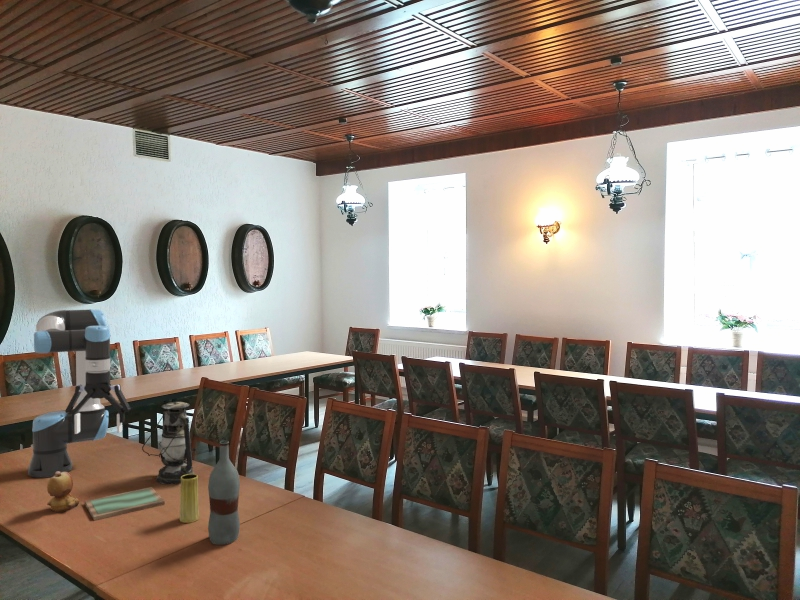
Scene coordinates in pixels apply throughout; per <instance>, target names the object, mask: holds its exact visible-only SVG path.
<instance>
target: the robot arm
mask: <svg viewBox="0 0 800 600" xmlns="http://www.w3.org/2000/svg"><path fill="white" fill-rule="evenodd" d="M106 321H107V320H106V316H105V313H104V311H102V310H101V309H68V310H66V309H60V310H56V311H52V312H49V313H47V314H44V315H43V316H41V318H39V319H38V320H37V322H36V326H35V330H36V331H35V332H34V333H33V350H34V353H37V354H50V353H67V352H70V353H71V352H75V371H76V372H75V373H76V376H75V377H76V378H75V379H76V380H75V381H76V385H75V388H74V389H75V390H74V393H73V395H72V397H71V399H70V401H69V403H68V405H67V406H66V409H65V410H60V411H59V410H56V411H51V412H47V413H42V414H40V415H38V416H37V417H35V418H34V419H33V420H32V429H31V431H32V457H31V460H30V462H29V465H28V469H27V476H29V477H30V478H35V479H36V478H37V479H38V478H40V479H42V478H51V477H53V476H55V473H56V472H57V471H60V472H68V473H69V472H70V471H72V470H73V461H72V459H71V457H70V454H69V452H68V444H74V443H76V444H77V443H83V442H90V441H91V442H94V441H98V440H102V439H104V438H105V437H106V435H107V433H108V427H109V410H107V409H105V406H104V405H103V404H102V403H101V399H102V400H103V399H105V400H107V401H108V403H110V405H111V406H112V407H113V408H114V409H115V410H116V411H117V412H118V413H117V414H116V433H117V434H120V433H121V432H122V431H123V423H125V421H126V417H125V416H126V415H125V413H128V412H129V411H131V406H130V404H129V403H128V401H127V399H126V397H125V394H124V393H123V392H122V388H121V384H119V383H118V384H115V385H111V371H110V369H111V333H110V332H111V331H110V326H107V322H106ZM111 391H113V392H114V394H115V396H116V397H117V399H118V400H117V399H116V398H115V397H114V396H113V393H111Z"/></svg>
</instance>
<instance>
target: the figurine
mask: <svg viewBox="0 0 800 600" xmlns="http://www.w3.org/2000/svg"><path fill="white" fill-rule="evenodd" d="M73 486H74V481H73V476H72V475H71V474H70V473H69V472H60V471H57V472H56V473H55V476H52V477H49V479H48V482H47V486H46V489H47V490H46V491H47V493H48V494H49V495H50V497H51V499H50V500H49V501H48V502H47V503H46V505H47V506H49V507H50V509H51V511H52V512H54V513H63V512H64V513H65V512H68V511H70V510H72V509H74V508H76V507H77V506H79V504H80V499H78V498H75V497H73V495H72V494H71V493H72V492H71V491H72V490H73V488H74V487H73Z"/></svg>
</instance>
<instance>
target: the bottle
mask: <svg viewBox="0 0 800 600" xmlns="http://www.w3.org/2000/svg"><path fill="white" fill-rule="evenodd" d="M229 443H230V441H228V440H221V441H219V460H218V461H217V462H216V464H215V466H214V468H213V469H212V471H211V472H210V474H209V477H208V488H207V490H208V497H209V511H210V512H209V518H208V526H207V530H208V531H207V532H208V538H209V540H210V542H211V543H212V544H213V545H217V546H221V545H229V544H232V543H234V542H235V541H237V539H238V538H239V534H240V526H241V522H240V514H239V499H240V498H239V497H240V488H241V487H240V486H241V481H240V474H239V471H238V470H237V468H236V467H235V466H234V464H233V463H232V461H231V459H230V456H229V455H230V453H229V452H230V451H229V450H230V449H229Z"/></svg>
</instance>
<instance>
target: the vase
mask: <svg viewBox="0 0 800 600" xmlns="http://www.w3.org/2000/svg"><path fill="white" fill-rule="evenodd" d="M198 477H199V475H198V474H196V473H194V474H186V475H183V476H181V483H180V501H179V502H180V505H179V522H180V523H183V524H190V523H194V522H196V521H199V519H200V514H199V510H200V509H199V479H198Z"/></svg>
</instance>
